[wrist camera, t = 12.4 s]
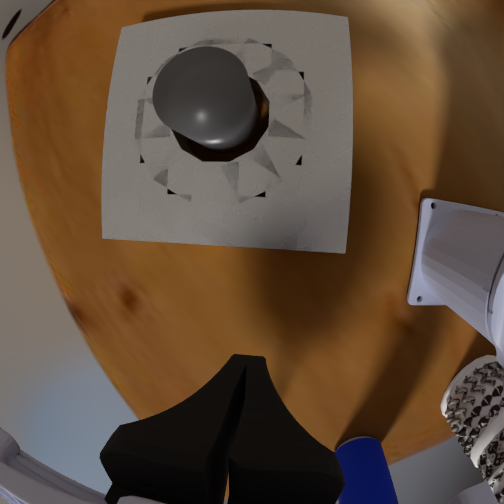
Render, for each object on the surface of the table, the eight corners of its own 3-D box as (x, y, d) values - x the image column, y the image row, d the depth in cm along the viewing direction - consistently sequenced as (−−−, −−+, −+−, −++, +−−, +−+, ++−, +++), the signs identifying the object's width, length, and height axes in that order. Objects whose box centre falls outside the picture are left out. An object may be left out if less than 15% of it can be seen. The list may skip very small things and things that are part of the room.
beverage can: (329, 441, 23) (343, 570, 9) (379, 427, 23) (415, 551, 8) (335, 466, 24) (347, 578, 10) (379, 454, 24) (407, 562, 9)
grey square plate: (341, 33, 16) (348, 17, 14) (337, 245, 19) (345, 253, 17) (135, 40, 17) (122, 27, 15) (119, 232, 21) (102, 238, 18)
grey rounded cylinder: (262, 91, 18) (253, 46, 11) (255, 155, 19) (243, 136, 12) (197, 89, 18) (160, 49, 11) (189, 150, 19) (146, 134, 12)
